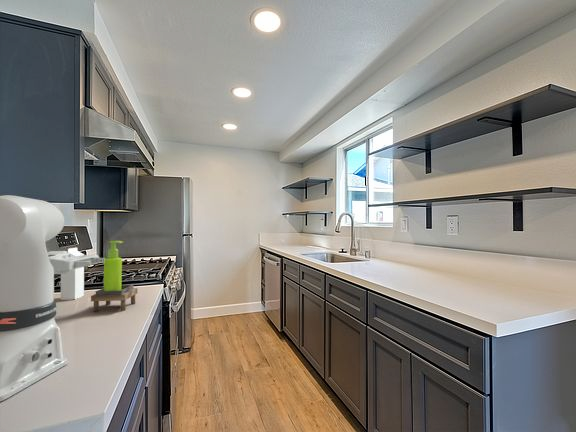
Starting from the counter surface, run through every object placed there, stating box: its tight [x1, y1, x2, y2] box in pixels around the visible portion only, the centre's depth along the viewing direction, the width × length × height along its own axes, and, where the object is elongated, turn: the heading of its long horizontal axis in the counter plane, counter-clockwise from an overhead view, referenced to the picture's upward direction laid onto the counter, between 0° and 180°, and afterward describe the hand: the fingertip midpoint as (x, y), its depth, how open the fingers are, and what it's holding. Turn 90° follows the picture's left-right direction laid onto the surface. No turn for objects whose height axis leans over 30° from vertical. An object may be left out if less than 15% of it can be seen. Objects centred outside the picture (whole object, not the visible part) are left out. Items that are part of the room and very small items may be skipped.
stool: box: [90, 284, 138, 313], centre depth 113 cm, size 11×12×8 cm
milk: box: [60, 247, 85, 301], centre depth 128 cm, size 6×6×22 cm
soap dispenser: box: [103, 240, 124, 291], centre depth 112 cm, size 6×7×20 cm
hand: (97, 262), depth 113 cm, fingers open, 8 cm apart
